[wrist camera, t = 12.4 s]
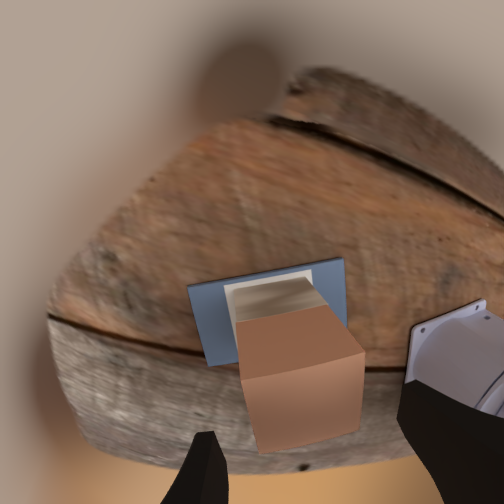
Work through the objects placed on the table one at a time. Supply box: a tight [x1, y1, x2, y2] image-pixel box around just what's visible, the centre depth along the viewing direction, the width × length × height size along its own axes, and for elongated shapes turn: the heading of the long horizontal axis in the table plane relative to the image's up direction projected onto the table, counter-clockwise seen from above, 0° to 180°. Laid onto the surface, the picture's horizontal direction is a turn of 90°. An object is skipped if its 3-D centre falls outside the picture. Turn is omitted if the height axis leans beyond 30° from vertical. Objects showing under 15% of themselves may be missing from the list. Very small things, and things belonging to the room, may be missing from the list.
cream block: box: [234, 276, 328, 322], centre depth 17 cm, size 4×4×4 cm
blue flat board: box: [187, 257, 347, 367], centre depth 19 cm, size 10×6×1 cm, turn 100°
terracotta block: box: [235, 304, 365, 454], centre depth 12 cm, size 4×4×4 cm
